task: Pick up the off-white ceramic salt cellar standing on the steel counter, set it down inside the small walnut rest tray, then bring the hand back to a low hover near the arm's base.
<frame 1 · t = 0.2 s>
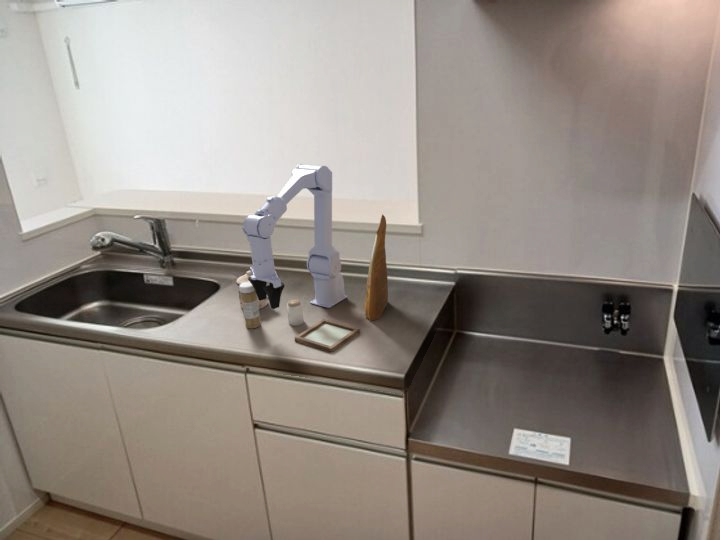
hand: (268, 303, 159), 10 cm above the worktop, tool pointing down, fingers open, 7 cm apart
sprinkles bottle: (253, 326, 169), on the worktop
teacup with lid: (258, 306, 182), on the worktop
salt cellar: (296, 322, 169), on the worktop
rest tray: (327, 336, 159), on the worktop
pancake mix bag: (379, 310, 174), on the worktop
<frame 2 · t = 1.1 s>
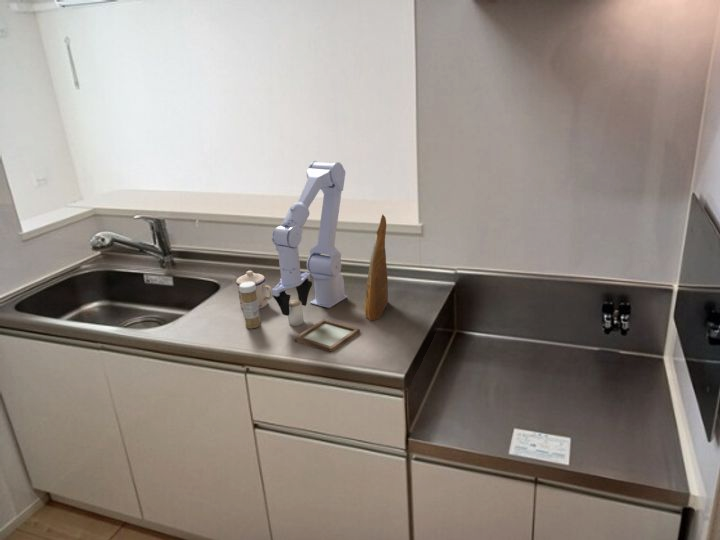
hand: (294, 309, 167), 4 cm above the worktop, tool pointing down, fingers open, 7 cm apart
nothing on the worktop moved.
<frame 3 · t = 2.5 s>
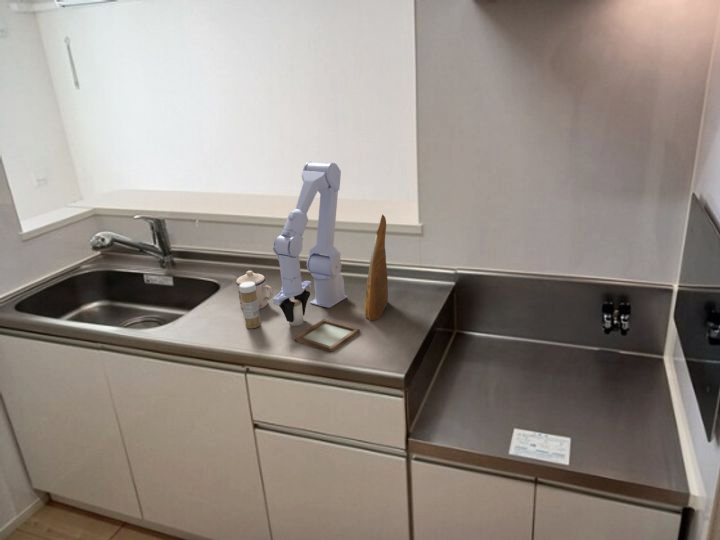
hand: (295, 317, 169), 1 cm above the worktop, tool pointing down, fingers closed on salt cellar, 4 cm apart
salt cellar: (296, 322, 169), on the worktop, touching gripper
everything else where it was.
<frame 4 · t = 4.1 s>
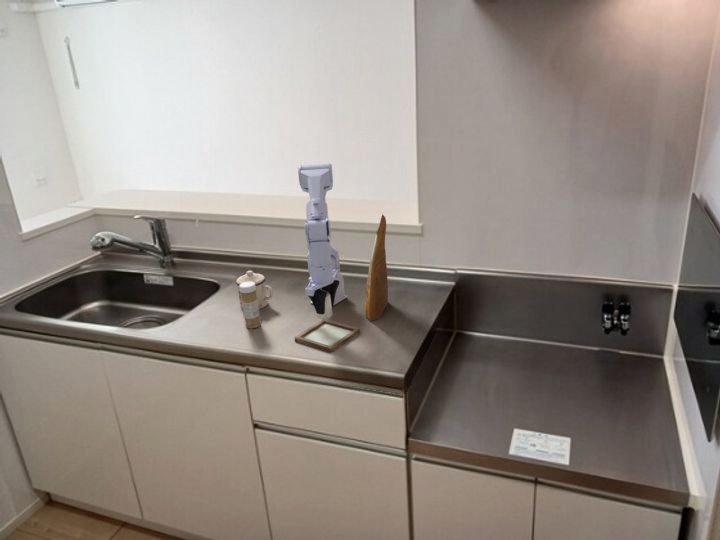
hand: (325, 309, 156), 8 cm above the worktop, tool pointing down, fingers closed on salt cellar, 4 cm apart
salt cellar: (324, 315, 157), point 7 cm above the worktop, touching gripper
everything else where it was.
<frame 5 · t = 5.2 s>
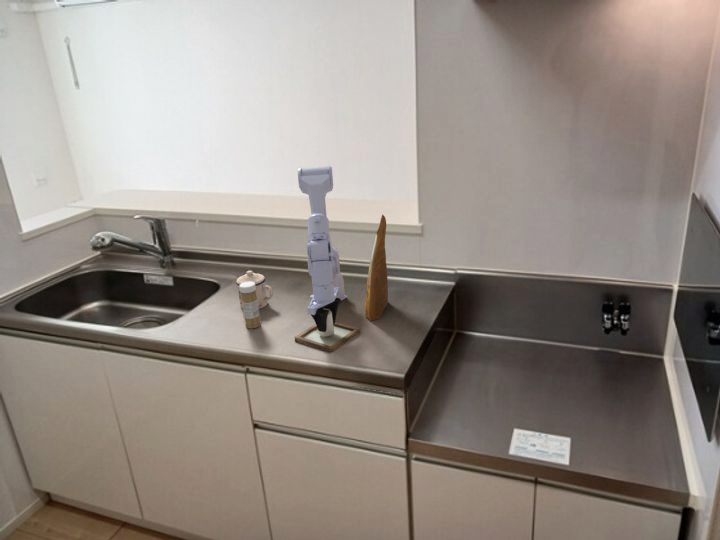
hand: (326, 327, 158), 3 cm above the worktop, tool pointing down, fingers closed on salt cellar, 4 cm apart
salt cellar: (326, 332, 159), point 1 cm above the worktop, touching gripper
everything else where it was.
when the fingers open (3 cm above the worktop, at t = 5.9 s): salt cellar stays where it is, resting on rest tray.
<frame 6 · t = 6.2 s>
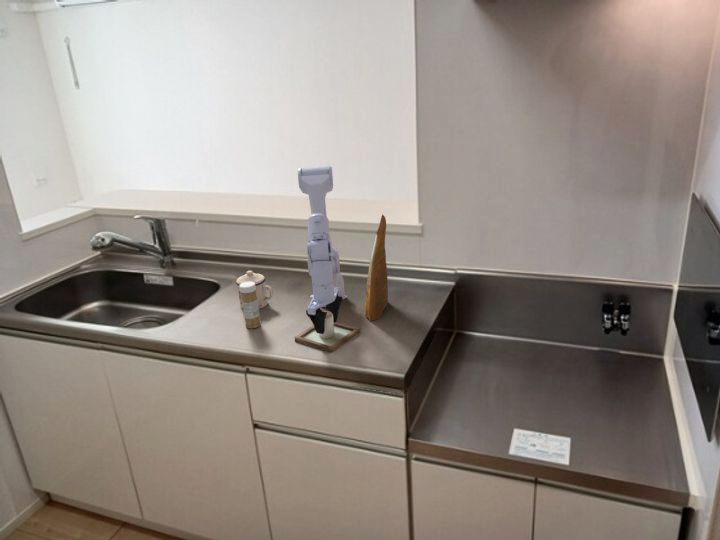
hand: (326, 327, 158), 3 cm above the worktop, tool pointing down, fingers open, 7 cm apart
salt cellar: (326, 335, 159), point 1 cm above the worktop, touching rest tray
everything else where it was.
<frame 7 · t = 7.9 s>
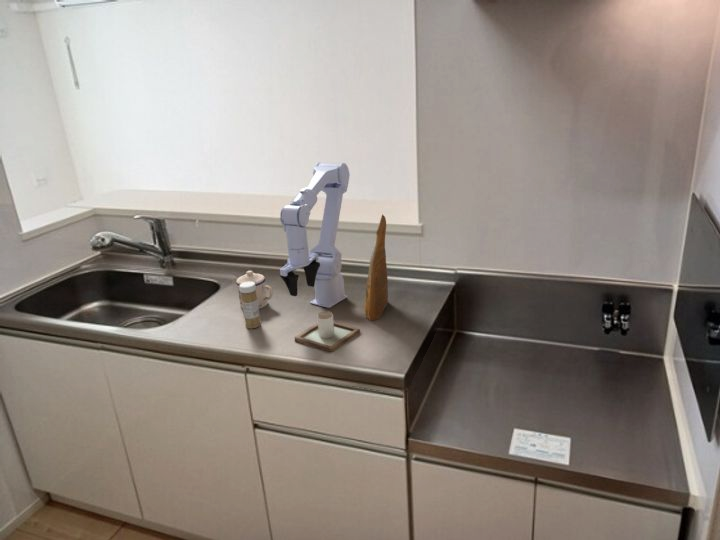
hand: (302, 290, 166), 10 cm above the worktop, tool pointing down, fingers open, 7 cm apart
nothing on the worktop moved.
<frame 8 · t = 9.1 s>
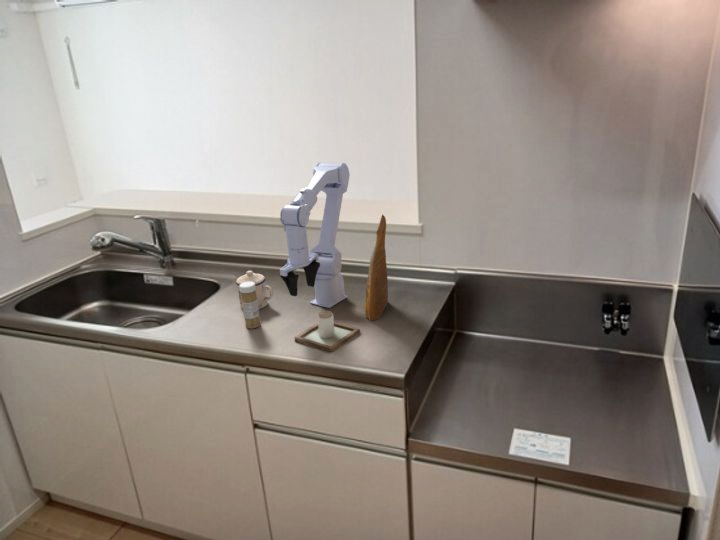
hand: (302, 290, 166), 10 cm above the worktop, tool pointing down, fingers open, 7 cm apart
nothing on the worktop moved.
at the end: salt cellar inside the target area on the rest tray (0.2 cm from its centre), point 0.5 cm above the rest tray's base; salt cellar tilted 1°; the gripper is holding nothing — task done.
